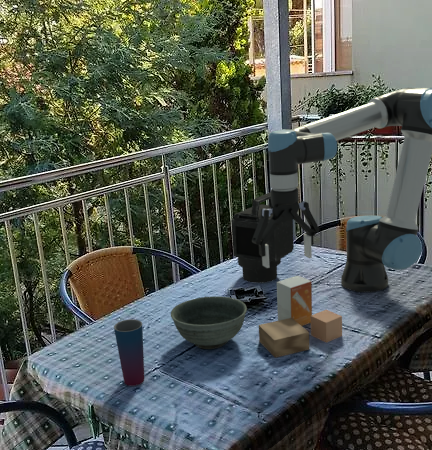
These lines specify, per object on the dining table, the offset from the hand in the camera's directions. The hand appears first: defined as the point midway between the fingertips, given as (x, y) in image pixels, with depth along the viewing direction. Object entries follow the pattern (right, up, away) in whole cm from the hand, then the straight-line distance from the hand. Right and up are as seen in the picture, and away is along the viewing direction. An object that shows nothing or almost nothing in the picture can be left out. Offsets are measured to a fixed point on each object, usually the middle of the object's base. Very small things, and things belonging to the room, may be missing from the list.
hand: (287, 261), depth 166 cm
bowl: (-22, -22, -3) cm, 31 cm away
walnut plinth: (-2, -22, -8) cm, 23 cm away
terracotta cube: (+10, -20, -3) cm, 23 cm away
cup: (-40, -28, -20) cm, 53 cm away
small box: (+3, -18, +5) cm, 19 cm away
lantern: (-3, -8, +42) cm, 43 cm away
